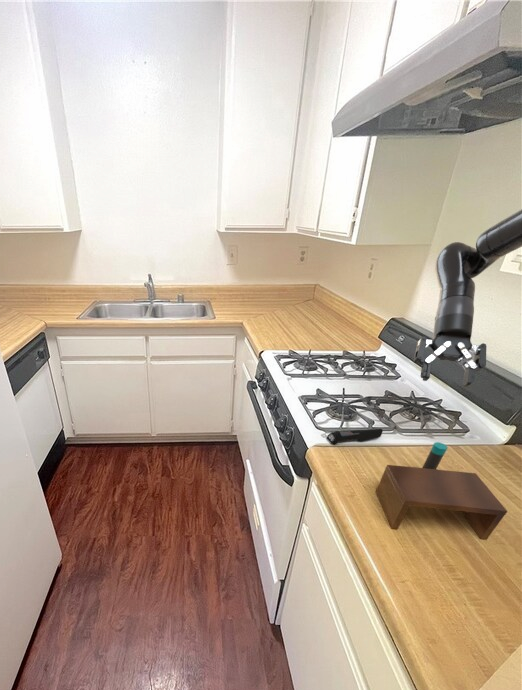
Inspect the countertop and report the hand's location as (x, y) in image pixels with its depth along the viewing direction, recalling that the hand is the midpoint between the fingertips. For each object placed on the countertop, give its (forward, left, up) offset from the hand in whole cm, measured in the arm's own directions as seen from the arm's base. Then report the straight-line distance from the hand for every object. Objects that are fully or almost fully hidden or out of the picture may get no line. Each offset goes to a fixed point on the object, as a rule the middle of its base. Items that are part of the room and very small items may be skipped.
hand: (446, 382), depth 81 cm
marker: (+2, +11, -20) cm, 24 cm away
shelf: (+6, +23, -20) cm, 32 cm away
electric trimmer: (+15, -4, -21) cm, 26 cm away
